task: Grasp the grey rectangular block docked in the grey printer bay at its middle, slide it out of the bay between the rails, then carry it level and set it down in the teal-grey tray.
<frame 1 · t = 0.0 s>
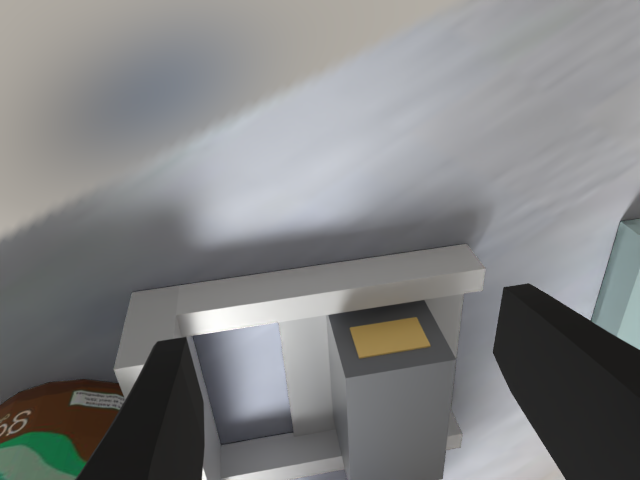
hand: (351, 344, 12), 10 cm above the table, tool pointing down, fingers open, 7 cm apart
grey rectangular block: (373, 359, 26), resting on printer bay
printer bay: (371, 355, 26), on the table
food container: (34, 422, 25), on the table
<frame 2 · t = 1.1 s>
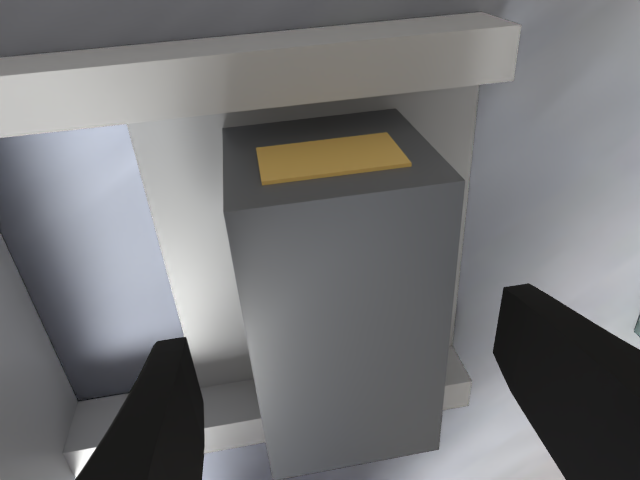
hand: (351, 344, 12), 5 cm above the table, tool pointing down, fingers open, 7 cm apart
grey rectangular block: (320, 248, 15), resting on printer bay
printer bay: (318, 243, 15), on the table
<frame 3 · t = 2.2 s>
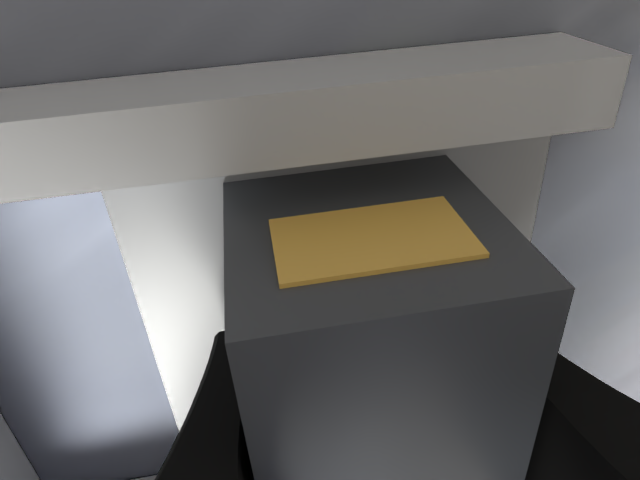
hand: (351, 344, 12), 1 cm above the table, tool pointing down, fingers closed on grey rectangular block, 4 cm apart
grey rectangular block: (344, 321, 12), resting on printer bay, touching gripper
printer bay: (341, 313, 13), on the table
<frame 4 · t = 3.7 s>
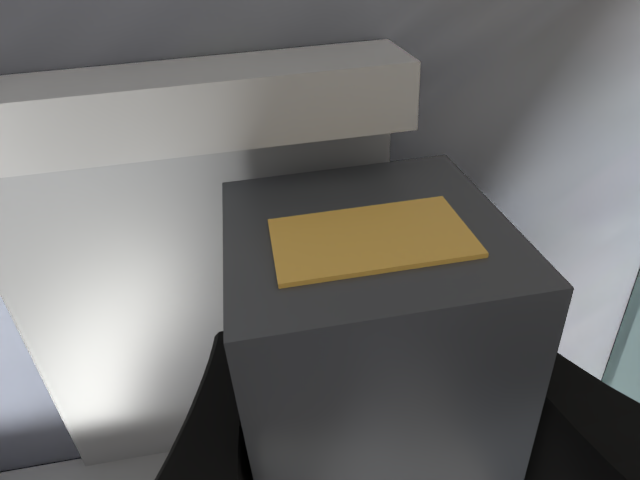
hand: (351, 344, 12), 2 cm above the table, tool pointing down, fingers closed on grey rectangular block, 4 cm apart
grey rectangular block: (343, 321, 12), point 1 cm above the table, touching gripper
printer bay: (212, 307, 13), on the table
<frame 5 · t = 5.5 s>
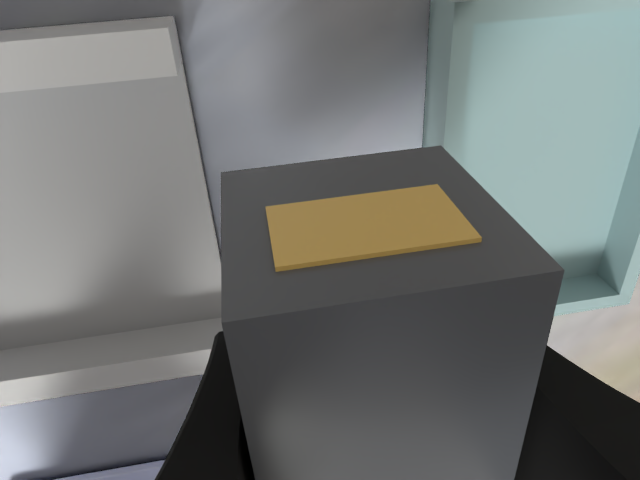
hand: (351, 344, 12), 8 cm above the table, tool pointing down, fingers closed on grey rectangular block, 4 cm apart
grey rectangular block: (341, 311, 12), point 7 cm above the table, touching gripper
tray: (532, 163, 19), on the table
printer bay: (76, 220, 17), on the table
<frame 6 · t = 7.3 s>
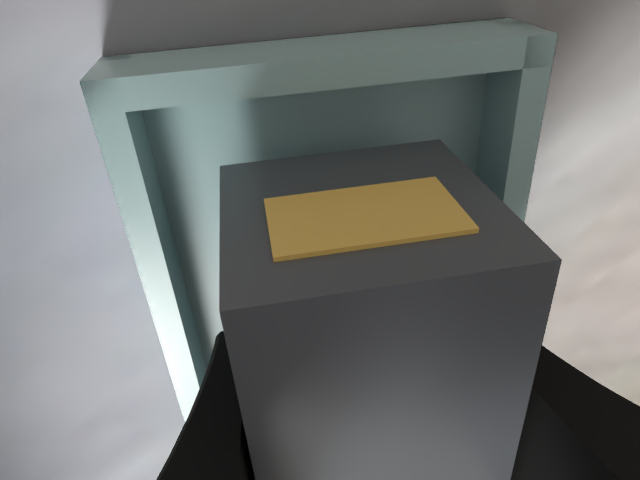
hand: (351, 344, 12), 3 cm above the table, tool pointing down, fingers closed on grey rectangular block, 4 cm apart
grey rectangular block: (339, 306, 12), point 2 cm above the table, touching gripper
tray: (329, 271, 14), on the table
when the fingers open (3 cm above the table, at t = 7.5 s): grey rectangular block drops 1 cm, resting on tray.
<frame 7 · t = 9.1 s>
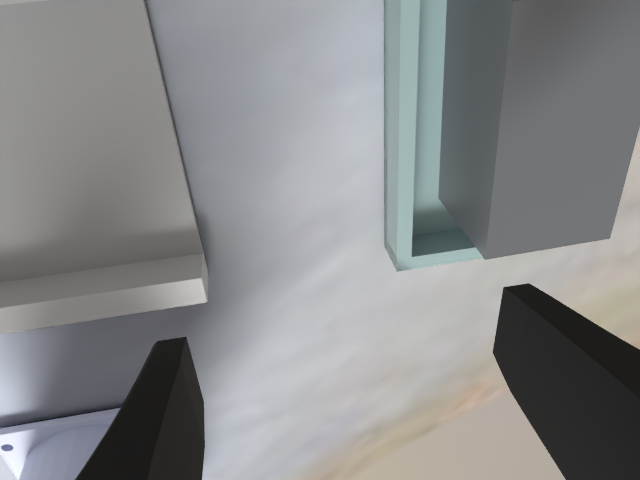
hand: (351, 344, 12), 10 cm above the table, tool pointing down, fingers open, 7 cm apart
grey rectangular block: (500, 94, 19), resting on tray
tray: (495, 96, 19), on the table
printer bay: (46, 152, 18), on the table
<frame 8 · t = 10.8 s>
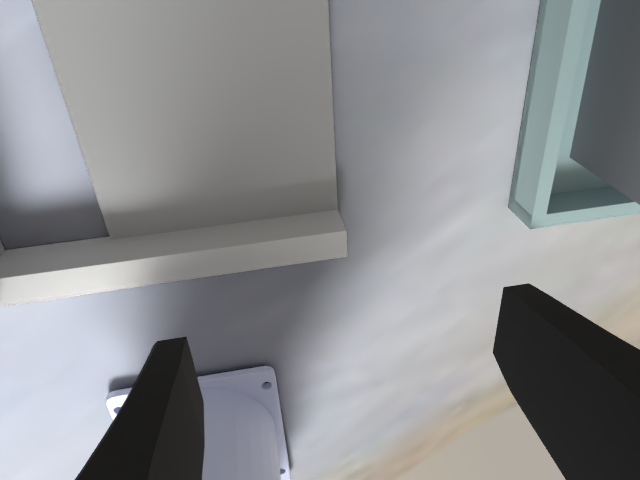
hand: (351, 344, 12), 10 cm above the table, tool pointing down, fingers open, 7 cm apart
tray: (636, 53, 20), on the table
printer bay: (204, 100, 18), on the table
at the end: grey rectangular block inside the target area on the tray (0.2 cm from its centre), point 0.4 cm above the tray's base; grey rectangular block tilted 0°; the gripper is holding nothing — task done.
